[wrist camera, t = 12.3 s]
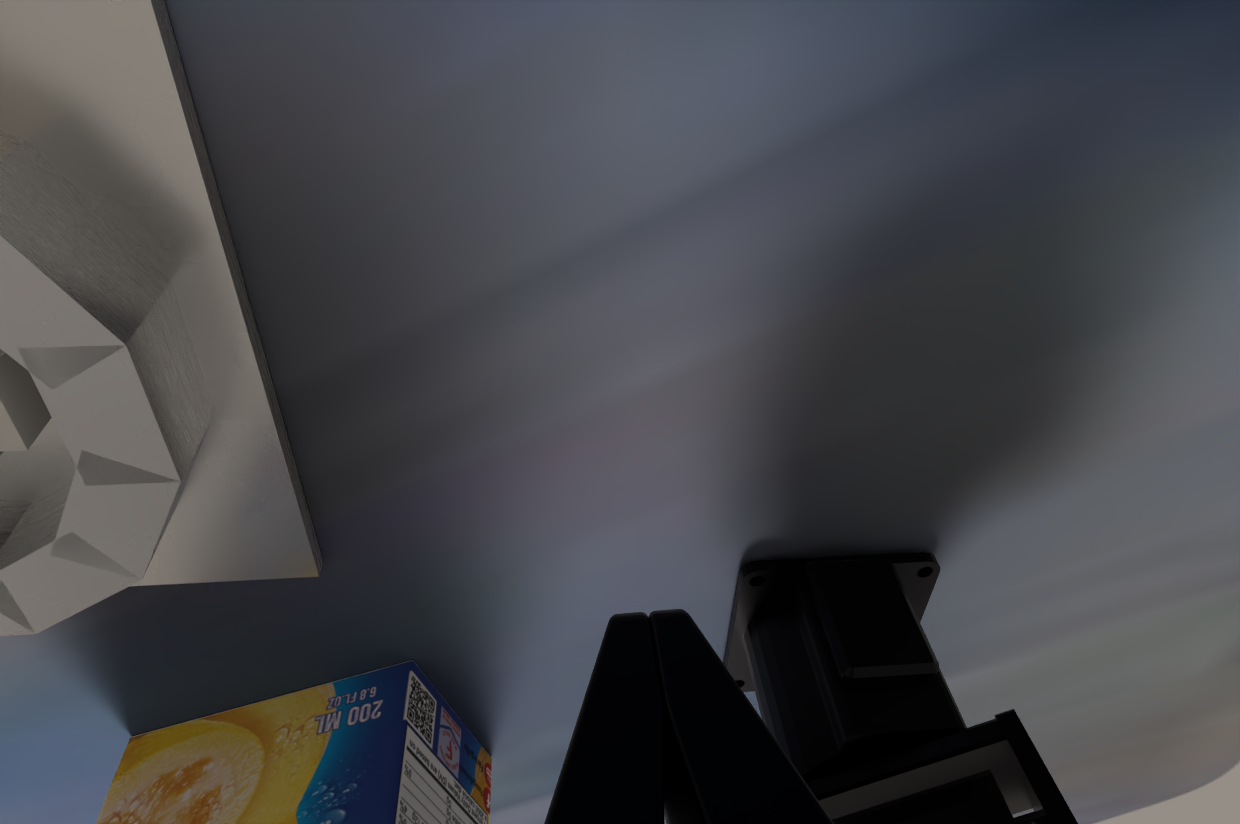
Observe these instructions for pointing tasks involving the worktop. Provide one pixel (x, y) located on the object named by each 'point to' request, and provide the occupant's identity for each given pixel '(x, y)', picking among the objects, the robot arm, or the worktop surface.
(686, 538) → the worktop surface
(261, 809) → the beverage box
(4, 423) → the cap
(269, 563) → the grey faceted ring
